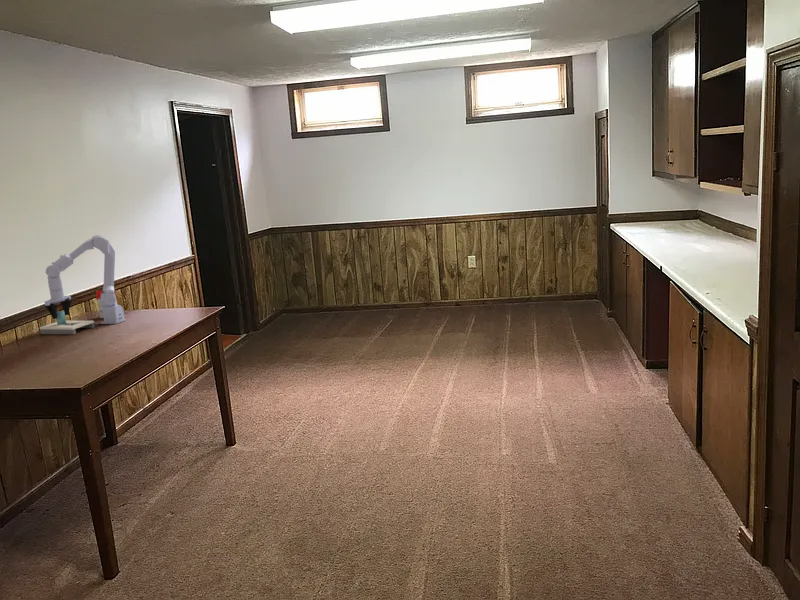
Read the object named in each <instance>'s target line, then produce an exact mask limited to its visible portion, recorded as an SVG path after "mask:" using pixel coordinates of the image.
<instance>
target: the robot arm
mask: <svg viewBox="0 0 800 600" xmlns="http://www.w3.org/2000/svg"><path fill="white" fill-rule="evenodd" d="M95 248H96V249H98V250H99V251H100V252H101V253H102V254H103V255H104V261H103V288H102V291H103V292H102V293H101V300H102V302H103V304H102V310H103V316H104V318H103V321H102V322H100V324H101V325H103V324H104V325H109V324H110V325H116V324H119V323H122V322H125V321H126V320H127V319H125V318H126V317H125V312H124V308H123V305H120V304H118V302H117V303H116V300H117V296H115V294H116V293H115V264H116V263H115V262H116V251H115V249H114V248H113V246H112V245H111V243H110V241H109V240H108V239H107V238H105V237H104V236H102V235H99V234H97V235H94V236H92V237H91V238H88V239H87V240H85V241H84V242H83V243H81V244H80V245H79V246H78V247H77V248H75V249H74V250H73V251H71V252H70V253H69V254H63V255H62V254H61V255H60V256H59V258H58V259H56V260H55V261H52V262H51V264H50V265H48V266H47V267H46V269H45V274H46V275H47V280H48V281H47V283H48V288H49V295H50V299H48V300H46V301H44V307H45V309H46V310H47V311H48V312H49V314H50V316H51V317H52V319H53V320H56V319H57V312H58V310H57V309H58V303H60V304H61V305H60V306H62V311H64V312H65V316H69V315H70V310H71V309H70V308H71V304H72V296H71V295H64V289H63V284H62V279H61V272H65V270H66V269H68V268H69V267H71V266H72V265H73V264H74V260H75V259H77V258H78V257H80V256H81V255H82V254H84V253H85V252H86V251H88V250H94V249H95Z"/></svg>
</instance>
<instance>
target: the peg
mask: <svg viewBox="0 0 800 600" xmlns="http://www.w3.org/2000/svg"><path fill="white" fill-rule="evenodd" d="M55 320H56V322H57V325H64V324H66V321H67V320H66V315H65V312H64V311H63V310H57V319H55Z"/></svg>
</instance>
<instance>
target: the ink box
mask: <svg viewBox="0 0 800 600" xmlns="http://www.w3.org/2000/svg"><path fill="white" fill-rule="evenodd" d="M102 292H103V290H96V291H95V294H96V301H97V309H98V313H99V319H104V316H103V310H102V304H103V302H102V300H101V294H102ZM115 296H116V293H115ZM116 297H117V296H116ZM117 300H118V299H116V303H117V304H118V301H117Z"/></svg>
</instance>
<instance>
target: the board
mask: <svg viewBox="0 0 800 600" xmlns="http://www.w3.org/2000/svg"><path fill="white" fill-rule="evenodd" d="M81 328H82V329H85V328H86V329H88V328H89V329H91V328H92V329H93V328H95V320H66V324H64V325H57V321H55V322H52V323H49V324H47V325H46V324H45V325H42V326H39V331H40V334H41V335H75V334H77V331H76V329H81Z"/></svg>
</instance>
